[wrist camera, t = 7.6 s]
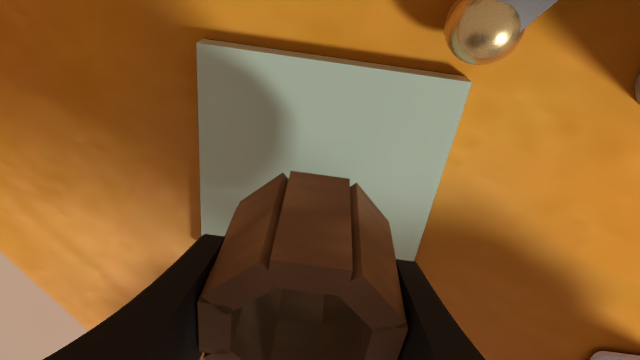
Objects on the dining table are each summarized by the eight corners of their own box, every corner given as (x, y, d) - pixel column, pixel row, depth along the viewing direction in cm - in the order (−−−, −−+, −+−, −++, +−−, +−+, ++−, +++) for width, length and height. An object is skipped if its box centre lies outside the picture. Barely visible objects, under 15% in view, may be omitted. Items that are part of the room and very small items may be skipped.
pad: (404, 272, 20) (406, 283, 19) (206, 245, 20) (201, 256, 19) (466, 76, 15) (472, 82, 14) (203, 38, 15) (196, 42, 14)
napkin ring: (370, 301, 15) (379, 410, 11) (234, 284, 14) (200, 388, 11) (401, 185, 12) (425, 280, 9) (237, 163, 12) (195, 249, 9)
